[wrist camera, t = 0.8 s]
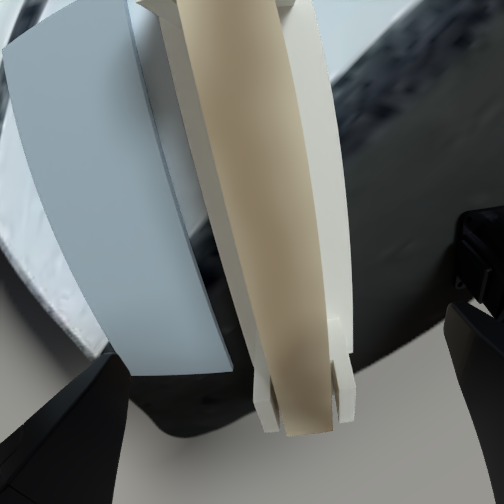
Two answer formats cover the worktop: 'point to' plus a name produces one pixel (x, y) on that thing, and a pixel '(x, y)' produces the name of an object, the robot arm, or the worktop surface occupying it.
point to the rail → (266, 193)
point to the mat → (111, 188)
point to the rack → (323, 186)
